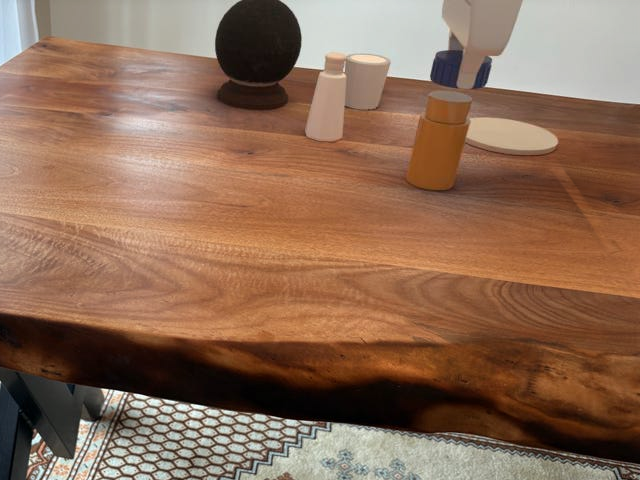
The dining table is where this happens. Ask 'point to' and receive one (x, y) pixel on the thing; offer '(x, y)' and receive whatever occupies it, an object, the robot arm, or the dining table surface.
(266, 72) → the ball on pedestal
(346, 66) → the white tapered cup
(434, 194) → the dining table surface
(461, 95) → the jar
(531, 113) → the dining table surface
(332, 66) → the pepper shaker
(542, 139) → the disc
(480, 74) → the lid
